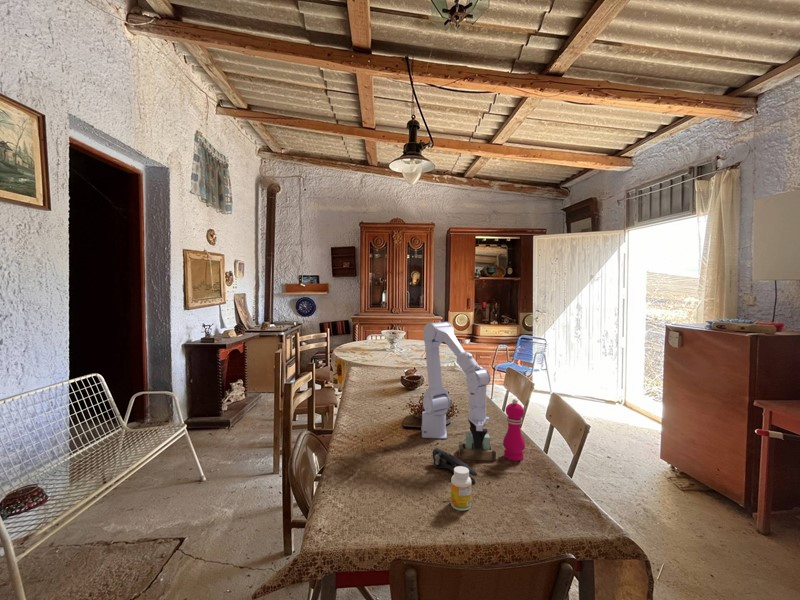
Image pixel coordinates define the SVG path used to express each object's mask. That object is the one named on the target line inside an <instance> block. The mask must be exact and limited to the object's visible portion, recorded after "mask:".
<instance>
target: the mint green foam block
mask: <svg viewBox="0 0 800 600" xmlns="http://www.w3.org/2000/svg"><path fill="white" fill-rule="evenodd" d="M464 437H465V438H464V439H465V440H464V442H465V449H472V443H474V441H473V436H472V433H471V432H465V436H464ZM490 444H491V437H490V434H489V433H486V435H485V437H484V440H483V450H490Z"/></svg>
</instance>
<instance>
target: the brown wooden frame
mask: <svg viewBox="0 0 800 600" xmlns="http://www.w3.org/2000/svg"><path fill="white" fill-rule="evenodd" d="M458 456H459V457H458V459H459V460H473V461H475V460H476V461H477V460H478V461H491V462H492V461H497V451H496V447H495V445H494V443H490V450H483V444H482V448H481V449H475V447H474V443H472V449H465V441H464V442H463V441H459V442H458Z"/></svg>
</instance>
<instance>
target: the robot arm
mask: <svg viewBox="0 0 800 600" xmlns="http://www.w3.org/2000/svg"><path fill="white" fill-rule="evenodd" d="M422 330H423V340H424V342H423V343H424V351H425V352H424V353H425V362H426V373H427V382H428V388H427V389H426V390H425V391H424V393H423V400H422V407H423V410H424V411H422V412H421V413H422V414H421V426H420V427H421V429H420V430H421V438H423V439H424V438H426V439H443V440H446V439H448V435H447V431H448V430H447V426H446V425H447V413H448V409H450V407H451V399H450V396H449V391H448V390H447V388H445V387H444V385H443V376H442V367H441V356H440V348H439V347H440V346H441V344H442V343H445V344H446V346H447V347H448V348H449V349H450V350H451V352H452V353H453V354H454V355H455V356H456V363H457V365H458V367H460V369H461V371H462V372H463V373H464V375H465V376H466V377H465V382H466V385H467V390H468V393H469V394H468V395H469V396H468V398H469V399H468V400H469V401H468V417H467V420H468V422H469V430H470V433H472V436H473V441H474V447H475V449H481V448H482V444H483V440H484V437H485V435H486V434H488V428H483V426H484V424H485V423H486V422H490V417H489V416H487V388H488V387H487V386H488V385H489V384H490V383H491V374H490V373H489V370H488V369H486V368H483V366H481V365H480V364H478V362H477V361H476V360H475V358H474V356H473V354H472V353H471V352H469V351H465V349H464V348H463V346H462V345H461V343H460V341H459V340H458V337H456V335H455V329H454V327H453V326H452V323H450V322H449V321H441V322H427V324H425V326H424V328H423V329H422Z"/></svg>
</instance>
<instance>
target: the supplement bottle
mask: <svg viewBox="0 0 800 600" xmlns="http://www.w3.org/2000/svg"><path fill="white" fill-rule="evenodd" d="M469 476H470V474H469V469H468V468H466V467H463V466H456V467H455V468H454V472H453V475H452V477H451V479H450V505H451V507H452V508H453V509H454V510H457V511H460V512H462V511H467V510H470V509H471V507H472V485H473V484H472V483H471V478H470V477H469Z"/></svg>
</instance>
